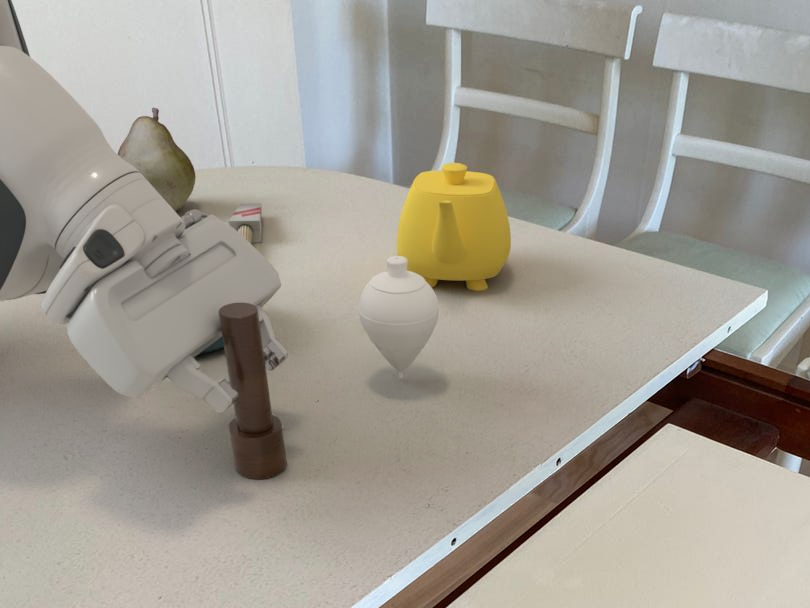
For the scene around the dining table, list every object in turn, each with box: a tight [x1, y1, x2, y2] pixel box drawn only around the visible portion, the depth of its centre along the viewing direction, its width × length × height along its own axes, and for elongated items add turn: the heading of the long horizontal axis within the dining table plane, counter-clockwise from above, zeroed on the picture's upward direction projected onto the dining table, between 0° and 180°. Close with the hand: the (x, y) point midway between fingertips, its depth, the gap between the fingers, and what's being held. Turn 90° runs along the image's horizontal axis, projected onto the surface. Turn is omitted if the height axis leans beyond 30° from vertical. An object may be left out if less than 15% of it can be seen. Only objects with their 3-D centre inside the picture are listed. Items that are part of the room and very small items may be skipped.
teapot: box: [396, 162, 512, 292], centre depth 113 cm, size 13×20×12 cm
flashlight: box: [219, 302, 288, 480], centre depth 80 cm, size 4×4×14 cm
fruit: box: [117, 107, 196, 212], centre depth 128 cm, size 10×9×12 cm
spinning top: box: [357, 255, 440, 381], centre depth 93 cm, size 8×8×12 cm
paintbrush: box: [228, 202, 263, 244], centre depth 123 cm, size 4×3×20 cm
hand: (256, 384), depth 79 cm, fingers open, 6 cm apart
